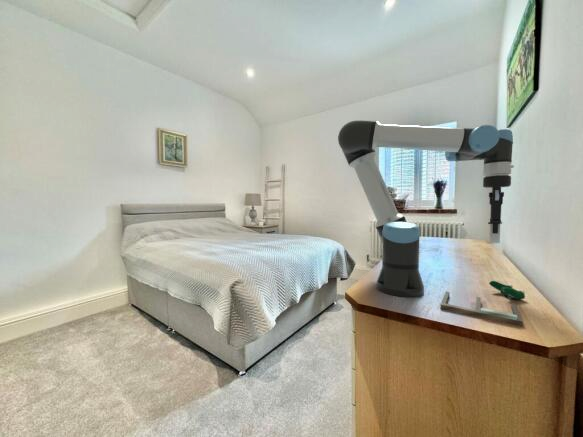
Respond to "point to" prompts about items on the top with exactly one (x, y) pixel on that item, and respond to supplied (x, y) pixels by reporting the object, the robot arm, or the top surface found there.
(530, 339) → the top surface
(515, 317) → the letter e shape
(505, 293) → the gaming controller
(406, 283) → the robot arm
